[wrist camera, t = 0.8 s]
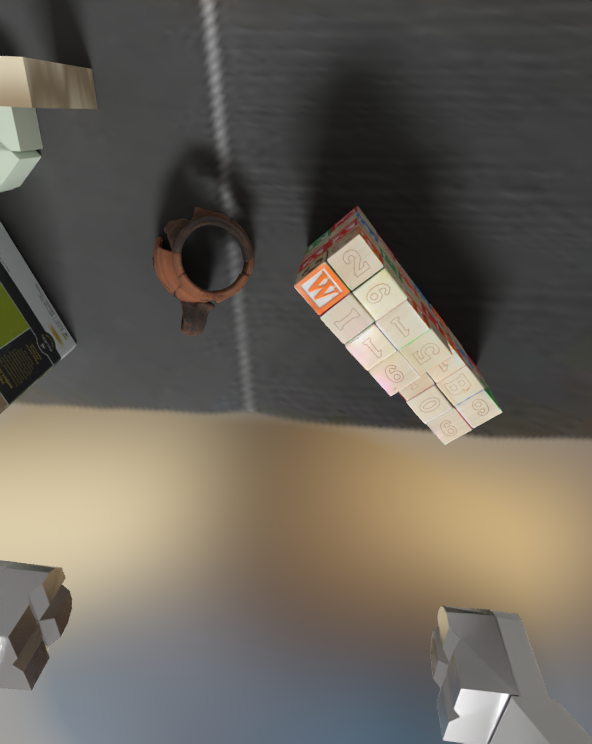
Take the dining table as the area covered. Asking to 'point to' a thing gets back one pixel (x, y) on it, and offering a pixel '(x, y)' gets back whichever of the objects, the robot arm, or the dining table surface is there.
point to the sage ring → (18, 145)
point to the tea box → (25, 326)
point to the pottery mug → (174, 274)
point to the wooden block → (45, 84)
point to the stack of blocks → (393, 327)
